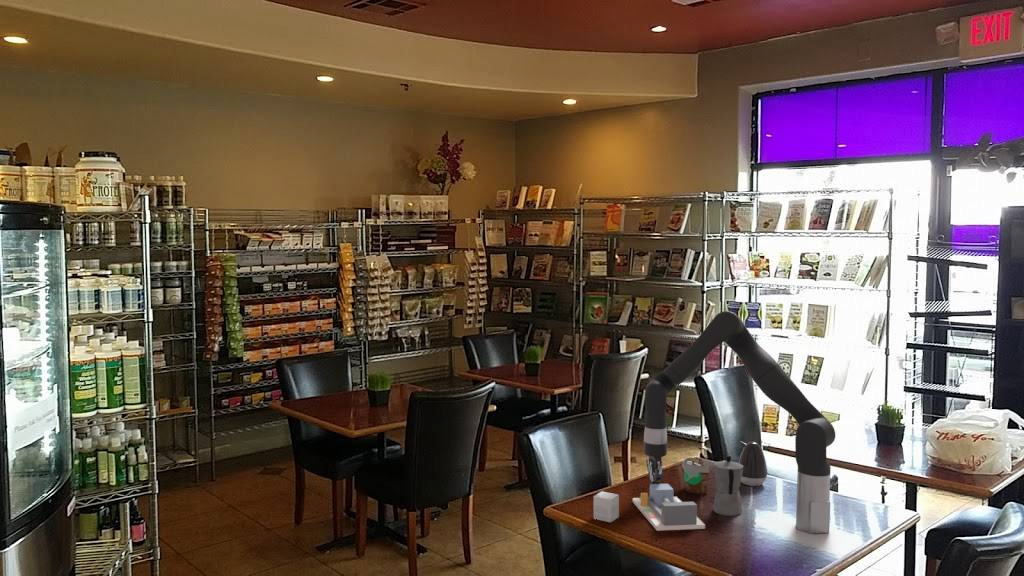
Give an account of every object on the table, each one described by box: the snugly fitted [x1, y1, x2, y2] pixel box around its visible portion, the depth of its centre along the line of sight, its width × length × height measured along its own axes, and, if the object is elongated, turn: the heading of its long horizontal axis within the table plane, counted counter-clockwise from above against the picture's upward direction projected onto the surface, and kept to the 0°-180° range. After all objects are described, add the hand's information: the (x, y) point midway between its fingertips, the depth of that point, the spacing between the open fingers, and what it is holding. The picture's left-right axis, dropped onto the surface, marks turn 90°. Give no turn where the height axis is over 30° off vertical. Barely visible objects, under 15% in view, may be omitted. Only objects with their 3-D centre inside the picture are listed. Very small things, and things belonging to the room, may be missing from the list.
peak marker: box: [640, 492, 649, 506], centre depth 254 cm, size 1×2×4 cm, turn 97°
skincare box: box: [593, 490, 620, 523], centre depth 247 cm, size 6×6×7 cm
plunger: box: [638, 483, 675, 507], centre depth 253 cm, size 11×10×6 cm
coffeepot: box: [712, 455, 744, 517], centre depth 252 cm, size 15×9×18 cm, turn 171°
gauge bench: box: [632, 496, 706, 532], centre depth 250 cm, size 26×15×7 cm, turn 7°
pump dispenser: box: [738, 441, 768, 487], centre depth 282 cm, size 10×10×15 cm
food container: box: [681, 456, 710, 495], centre depth 274 cm, size 12×6×10 cm, turn 17°
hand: (654, 491), depth 264 cm, fingers closed
